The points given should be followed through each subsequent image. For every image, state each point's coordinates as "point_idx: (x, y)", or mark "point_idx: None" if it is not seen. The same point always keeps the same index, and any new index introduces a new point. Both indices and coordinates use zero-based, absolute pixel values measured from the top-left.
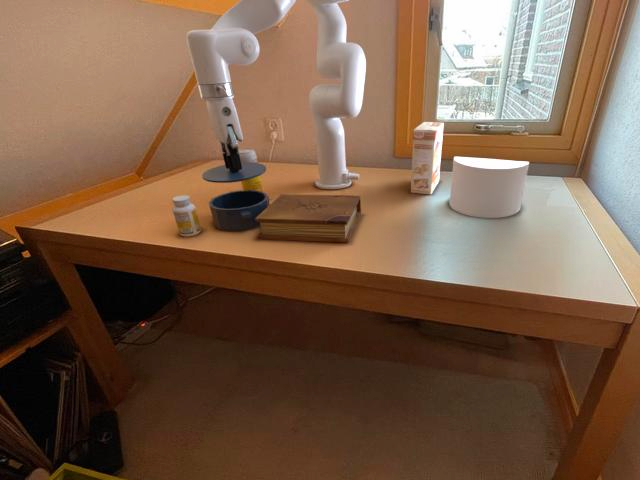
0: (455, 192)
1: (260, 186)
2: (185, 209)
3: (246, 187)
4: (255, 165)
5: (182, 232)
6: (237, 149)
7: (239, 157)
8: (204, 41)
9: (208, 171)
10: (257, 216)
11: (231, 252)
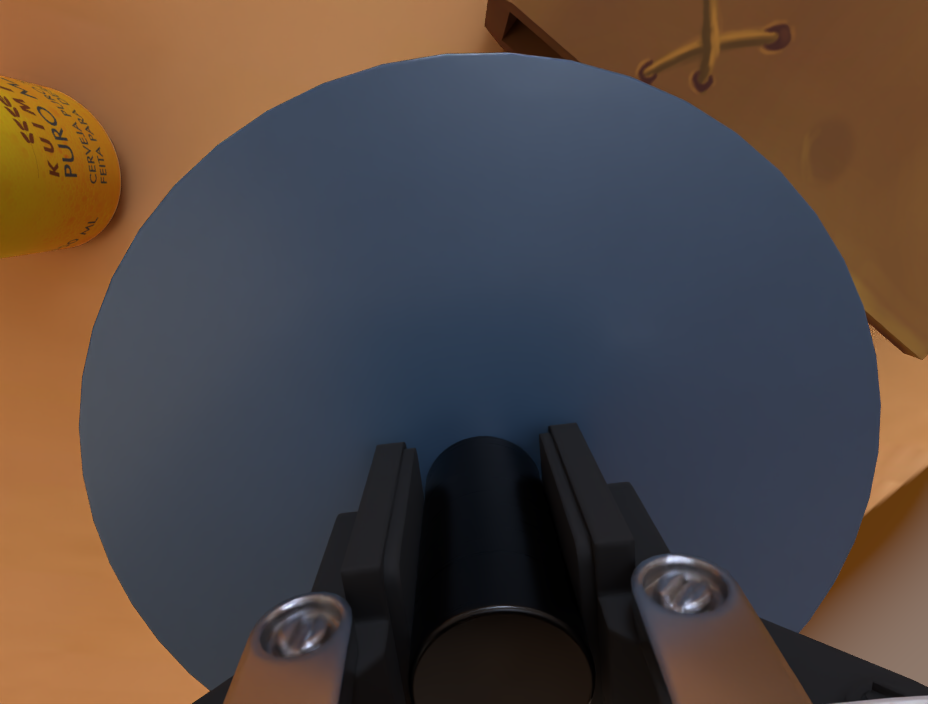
0: None
1: (26, 95)
2: None
3: (45, 233)
4: (377, 184)
5: None
6: (761, 639)
7: (615, 508)
8: None
9: None
10: (899, 338)
11: (879, 482)
